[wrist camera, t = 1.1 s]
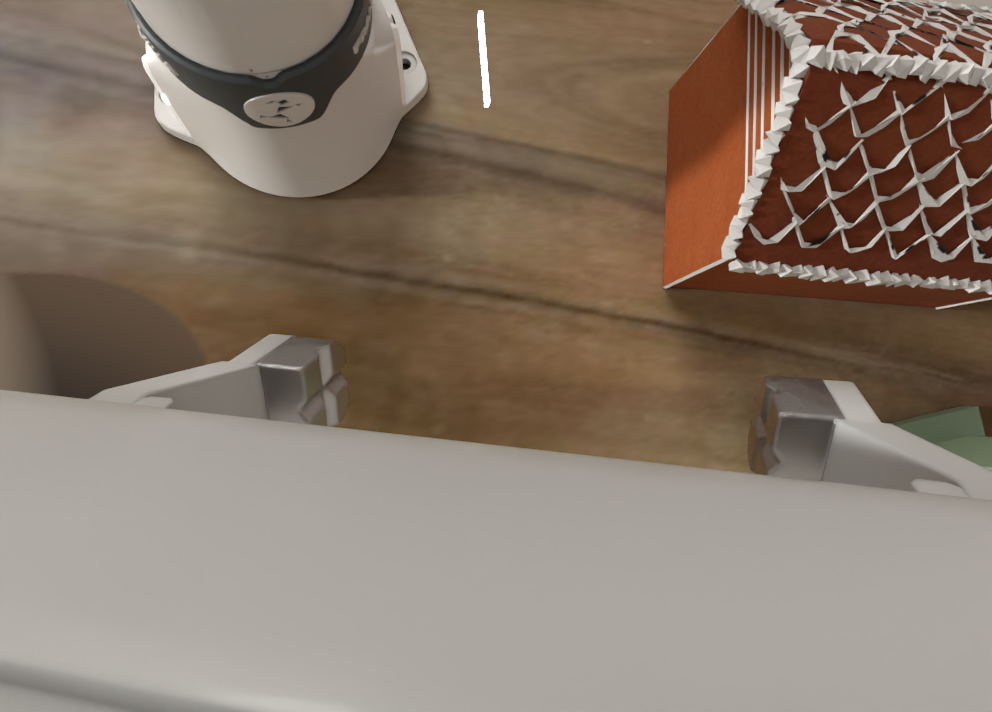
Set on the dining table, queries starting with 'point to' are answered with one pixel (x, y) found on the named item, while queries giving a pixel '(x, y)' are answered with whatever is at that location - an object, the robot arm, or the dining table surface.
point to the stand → (954, 433)
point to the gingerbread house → (835, 154)
